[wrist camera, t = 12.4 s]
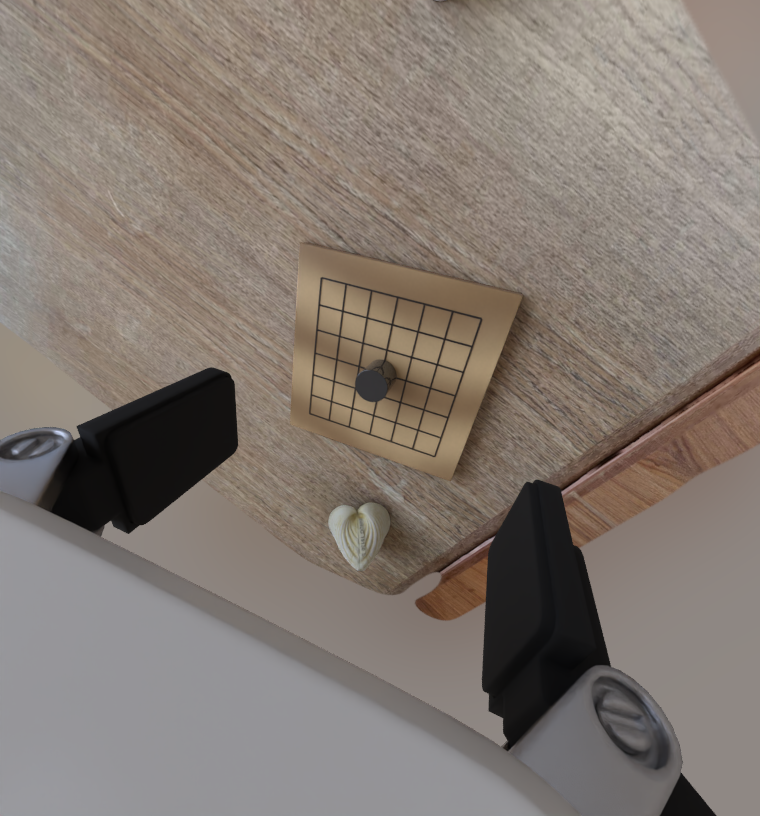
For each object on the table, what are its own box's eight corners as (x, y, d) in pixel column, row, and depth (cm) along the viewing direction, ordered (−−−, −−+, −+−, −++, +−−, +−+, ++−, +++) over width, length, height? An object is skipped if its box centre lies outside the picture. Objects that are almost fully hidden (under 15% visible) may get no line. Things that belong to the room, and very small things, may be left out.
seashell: (392, 504, 39) (396, 575, 38) (386, 493, 47) (389, 550, 46) (323, 509, 38) (326, 580, 37) (330, 497, 47) (332, 554, 46)
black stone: (369, 355, 32) (357, 365, 29) (399, 364, 31) (390, 375, 29) (364, 384, 34) (352, 396, 31) (393, 393, 33) (384, 406, 30)
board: (307, 242, 31) (298, 242, 29) (522, 293, 27) (523, 295, 26) (296, 418, 41) (289, 424, 39) (452, 473, 37) (450, 482, 36)
